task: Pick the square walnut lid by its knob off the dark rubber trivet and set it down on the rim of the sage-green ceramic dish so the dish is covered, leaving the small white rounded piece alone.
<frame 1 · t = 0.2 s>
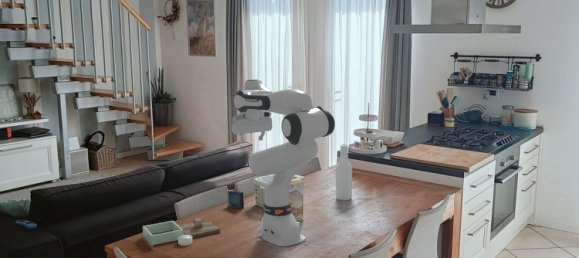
hand: (251, 141, 249), 39 cm above the table, tool pointing down, fingers open, 8 cm apart
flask: (236, 207, 274), on the table
alcohol: (343, 198, 288), on the table
trivet: (198, 232, 238), on the table
dish: (163, 238, 231), on the table
white rounded piece: (185, 245, 223), on the table
coffeecake box: (287, 220, 254), on the table
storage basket: (279, 204, 279), on the table
lid: (198, 230, 238), point 1 cm above the table, touching trivet
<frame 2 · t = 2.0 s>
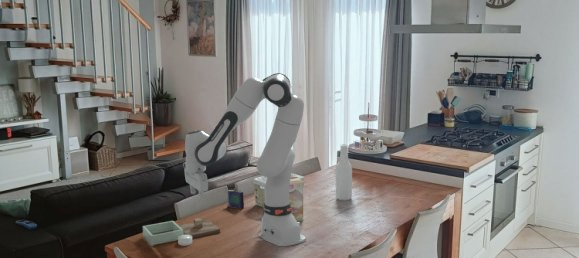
hand: (196, 196, 235), 17 cm above the table, tool pointing down, fingers open, 8 cm apart
nothing on the table moved.
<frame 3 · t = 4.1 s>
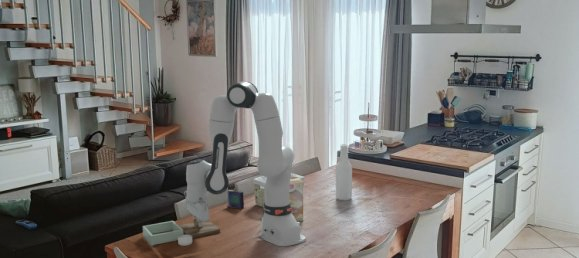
hand: (198, 224, 237), 4 cm above the table, tool pointing down, fingers closed on lid, 3 cm apart
lid: (198, 230, 238), point 1 cm above the table, touching gripper, trivet
everything else where it was.
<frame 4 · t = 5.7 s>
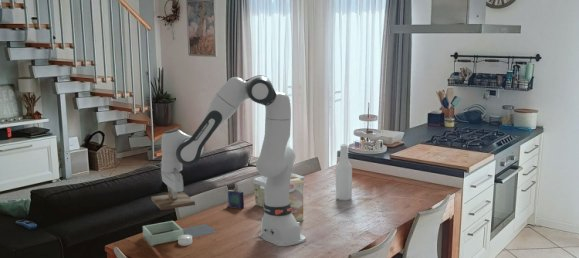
hand: (172, 196, 230), 18 cm above the table, tool pointing down, fingers closed on lid, 3 cm apart
lid: (172, 202, 231), point 16 cm above the table, touching gripper
everything else where it was.
when the fingers open (9 cm above the table, at t = 7.8 s): lid drops 1 cm, resting on dish.
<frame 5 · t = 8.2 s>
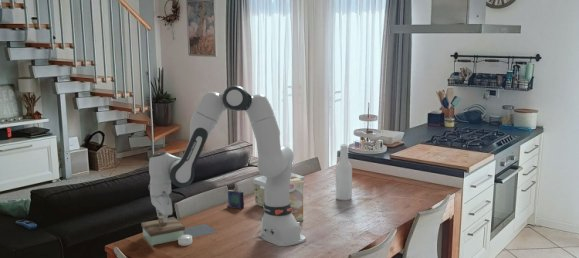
hand: (162, 219, 229), 9 cm above the table, tool pointing down, fingers open, 6 cm apart
lid: (162, 228, 230), point 5 cm above the table, touching dish
everything else where it was.
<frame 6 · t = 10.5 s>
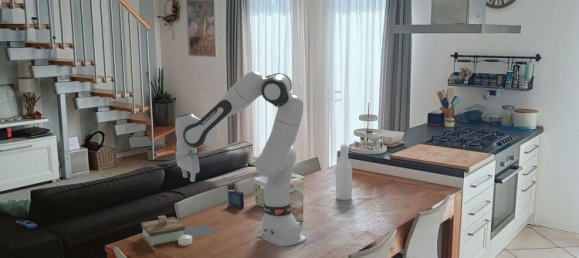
hand: (188, 179, 238), 24 cm above the table, tool pointing down, fingers open, 8 cm apart
nothing on the table moved.
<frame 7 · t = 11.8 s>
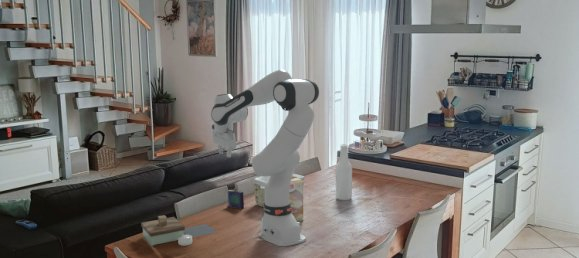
hand: (224, 155, 255), 31 cm above the table, tool pointing down, fingers open, 8 cm apart
nothing on the table moved.
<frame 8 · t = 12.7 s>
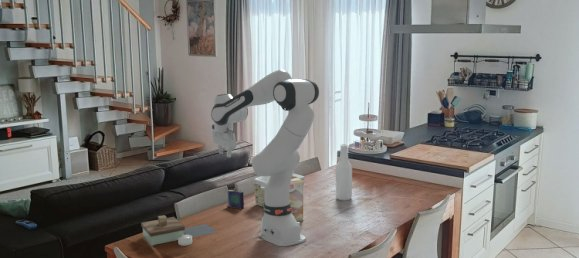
hand: (224, 155, 255), 31 cm above the table, tool pointing down, fingers open, 8 cm apart
nothing on the table moved.
at the end: lid 0.0 cm off-centre on the dish, point 5.0 cm above the dish's base; the gripper is holding nothing; lid touching dish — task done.
